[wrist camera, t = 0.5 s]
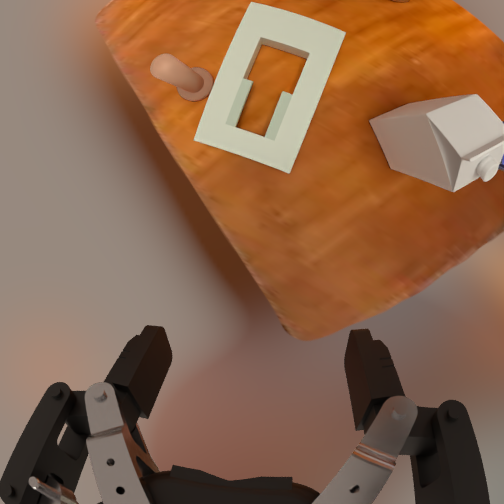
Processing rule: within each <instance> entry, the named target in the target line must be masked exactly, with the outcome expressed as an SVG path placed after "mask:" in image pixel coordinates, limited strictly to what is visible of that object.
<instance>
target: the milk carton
mask: <svg viewBox="0 0 504 504" xmlns="http://www.w3.org/2000/svg"><path fill="white" fill-rule="evenodd" d="M369 122H370V124H371V126H372V128H373V130H374V132H375V135H376V137H377V139H378V141H379V143H380V145H381V147H382V150H383V152H384V154H385V157H386V159H387V161H388V164H389V166H390V168H391V169H393V170H396V171H399V172H401V173H404V174H407V175H410V176H413V177H415V178H418V179H421V180H423V181H426V182H429V183H431V184H434V185H436V186H439V187H441V188H444V189H446V190H448V191H451V192H455V191H456V190H458V189H460V188H462V187H464V186H465V185H467V184H469V183H471V182H472V181H474V180H476V179H477V178H479V177H481V178H482V180H483V181H485V182H486V181H488V180H490V179H491V178H492V177H493V176H494V175H495V174H496V172H497V170H498V168H499V164H500V162H501V160H502V157H503V154H504V124H503V122H502V121H501V120H500V119H499V118H498V116H497V115H496V114H495V113H494V112H493V111H492V110H491V108H490V107H489V106H488V105H487V104H486V103H485V102H484V101H483V100H482V99H481V98H480V97H479V96H478V95H477V94H471V95H462V96H453V97H446V98H439V99H432V100H426V101H420V102H414V103H409V104H406V105H403V106H401V107H399V108H396V109H394V110H391V111H389V112H387V113H384V114H382V115H380V116H377V117H375V118H373V119H371V120H369Z"/></svg>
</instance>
